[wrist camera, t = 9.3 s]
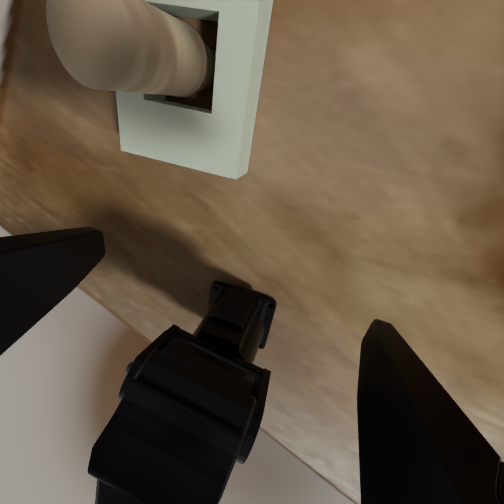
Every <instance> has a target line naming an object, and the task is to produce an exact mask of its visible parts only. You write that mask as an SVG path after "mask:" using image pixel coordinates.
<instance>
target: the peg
mask: <svg viewBox="0 0 504 504" xmlns="http://www.w3.org/2000/svg"><path fill="white" fill-rule="evenodd" d="M46 20H47V27H48V32H49V36H50V39H51V42H52V45H53V47H54V50H55V52H56V54H57V56H58V58H59V60H60V62H61V63H62V65H63V66H64V68H65V69H66V70H67V72H68V73H69V74H70V75H71V76H72V77H73V78H74V79H75V80H76V81H78V82H79V83H80V84H82V85H83V86H85V87H88V88H90V89H94V90H105V91H118V92H132V93H145V94H158V95H172V96H176V97H188V96H191V95H194V94H196V93H197V92H198V91H202V90H205V89H207V88H209V87H210V86H211V85H212V83H213V82H214V75H215V61H216V57H215V54H214V52H213V50H212V48H211V47H210V46H209V45H208V44H207V43H206V42H205V41H204V40H203V38H202V36H201V35H200V33H199V32H198V31H197V30H196V29H195V28H194V27H193V26H191V25H190V24H189V23H187V22H185V21H183V20H181V19H177V18H175V17H174V16H172V15H170V14H168V13H166V12H164V11H162V10H161V9H159V8H157V7H155V6H153V5H151V4H149V3H148V2H146V1H144V0H47V1H46Z"/></svg>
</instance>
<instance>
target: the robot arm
mask: <svg viewBox="0 0 504 504" xmlns="http://www.w3.org/2000/svg"><path fill="white" fill-rule="evenodd" d="M104 255H105V244H104V237H103V233H102V231H101V230H99V229H96V228H93V227H81V228H73V229H64V230H56V231H48V232H40V233H31V234H23V235H15V236H7V237H0V355H2V354H3V353H4V352H5V351H6V350H7V349H8V348H9V347H10V346H11V345H13V344H14V343H15V342H16V341H17V340H18V339H19V338H20V337H21V336H23V335H24V334H25V333H26V332H27V331H28V330H29V329H30V328H32V327H33V326H34V325H35V324H36V323H37V322H38V321H39V320H40V319H42V318H43V317H44V316H45V315H46V314H47V313H48V312H49V311H50V310H52V309H53V308H54V307H55V306H56V305H57V304H58V303H59V302H61V301H62V300H63V299H64V298H65V297H66V296H67V295H68V294H69V293H70V292H71V291H73V289H74V288H75V287H76V286H77V285H78V284H79V283H80V282H81V281H82V280H83V279H84V278H85V277H86V276H87V275H88V274H89V272H90V271H91V270H92V269H93V268H94V267H95V266H96V265H97V264H98V263H99V262H100V261H101V260H102V258H103V257H104ZM215 285H216V286H217V287H216V286H215ZM270 304H272V305H270ZM276 305H277V303H276V301H275V300H273V299H270V298H267V297H264V296H261V295H258V294H255V293H252V292H249V291H246V290H243V289H240V288H237V287H234V286H231V285H228V284H225V283H222V282H219V281H214V282H213V283H212V284H211V290H210V300H209V309H208V312H207V314H206V315H205V317H204V318H203V320H202V321H201V323H200V324H199V326H198V327H197V329H196V330H195V332H194V333H193V335H192V334H190V333H188V332H186V331H184V330H182V329H180V327H178V326H176V325H174V324H173V325H172V326H171V327H170V328H169V329H168V330H166V331H165V332H163V333H162V334H161V335H160V336H159V337H158V338H157V339H156V340H155V341H154V342H152V343H151V344H150V345H149V346H148V347H147V348H146V349H145V350H144V351H142V352H141V353H140V354H139V355H138V356H137V357H136V359H135V360H134V361H133V362H131V363H130V364H129V365H128V366H127V368H126V378H125V380H124V382H123V384H122V386H121V389H120V393H119V399H121V402H120V404H119V405H118V408H117V409H116V411H115V413H114V415H113V416H112V418H111V419H110V421H109V423H108V424H107V426H106V427H105V429H104V430H103V432H102V433H101V435H100V436H99V438H98V440H97V441H96V443H95V444H94V446H93V448H92V452H91V457H90V461H89V466H88V474H90V475H92V476H93V477H95V478H97V487H96V499H95V500H96V501H95V504H218V503H219V501H220V499H221V497H222V495H223V492H224V489H225V487H226V484H227V482H228V479H229V476H230V474H231V471H232V469H233V466H234V464H235V461H237V462H239V463H241V464H244V462H245V461H246V459H247V457H248V455H249V453H250V451H251V449H252V447H253V444H254V441H255V439H256V436H257V433H258V430H259V427H260V424H261V420H262V417H263V412H264V407H265V402H266V396H267V390H268V385H269V379H270V374H271V371H269V370H267V369H265V368H264V369H262V368H260V367H258V366H256V365H254V364H253V361H254V359H255V356H256V353H257V350H258V348H260V349H263V348H264V347H265V344H266V341H267V337H268V334H269V330H270V326H271V323H272V319H273V316H274V312H275V309H276ZM357 412H358V438H359V463H360V488H361V504H504V462H502V461H501V458H500V456H499V455H498V454H497V453H496V451H495V450H494V449H493V448H492V446H491V445H490V444H489V443H488V442H487V440H486V439H485V438H484V437H483V435H482V434H481V433H480V432H479V431H478V429H477V428H476V427H475V426H474V424H473V423H472V422H471V421H470V420H469V418H468V417H467V416H466V415H465V413H464V412H463V411H462V410H461V409H460V407H459V406H458V405H457V404H456V402H455V401H454V400H453V399H452V397H451V396H450V395H449V394H448V393H447V391H446V390H445V389H444V388H443V386H442V385H441V384H440V383H439V382H438V380H437V379H436V378H435V377H434V375H433V374H432V373H431V372H430V371H429V369H428V368H427V367H426V366H425V364H424V363H423V362H422V361H421V360H420V358H419V357H418V356H417V355H416V353H415V352H414V351H413V350H412V349H411V347H410V346H409V345H408V344H407V342H406V341H405V340H404V339H403V338H402V336H401V335H400V334H399V333H398V331H397V330H396V329H395V328H394V327H393V325H392V324H390V323H388V322H385V321H382V320H379V319H375V320H374V321H373V322H372V323H371V325H370V327H369V329H368V331H367V332H366V334H365V336H364V338H363V340H362V344H361V353H360V365H359V378H358V391H357Z"/></svg>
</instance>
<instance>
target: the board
mask: <svg viewBox="0 0 504 504" xmlns="http://www.w3.org/2000/svg"><path fill="white" fill-rule="evenodd" d="M144 1H146V2H148V3H149V4H151V5H153V6H155V7H157V8H159V9H161V10H162V11H164V12H166V13H168V14H170V15H175V16H182V17H189V18H196V19H202V20H209V21H216V22H218V33H217V47H216V61H215V75H214V88H213V102H212V110H209V109H204V108H199V107H194V106H189V105H185V104H180V103H175V102H170V101H166V95H158V94H145V93H132V92H118V91H116V100H117V111H118V122H119V132H120V143H121V151H125V152H129V153H133V154H137V155H141V156H145V157H149V158H153V159H157V160H161V161H164V162H168V163H172V164H176V165H180V166H184V167H188V168H192V169H196V170H200V171H204V172H208V173H212V174H216V175H220V176H223V177H227V178H231V179H235V180H236V179H238V178H239V177H241V176H242V175H244V174H245V173H247V172H248V165H249V159H250V152H251V145H252V139H253V132H254V126H255V119H256V112H257V106H258V99H259V92H260V86H261V79H262V73H263V66H264V59H265V53H266V46H267V39H268V33H269V26H270V19H271V13H272V6H273V0H144Z"/></svg>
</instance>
